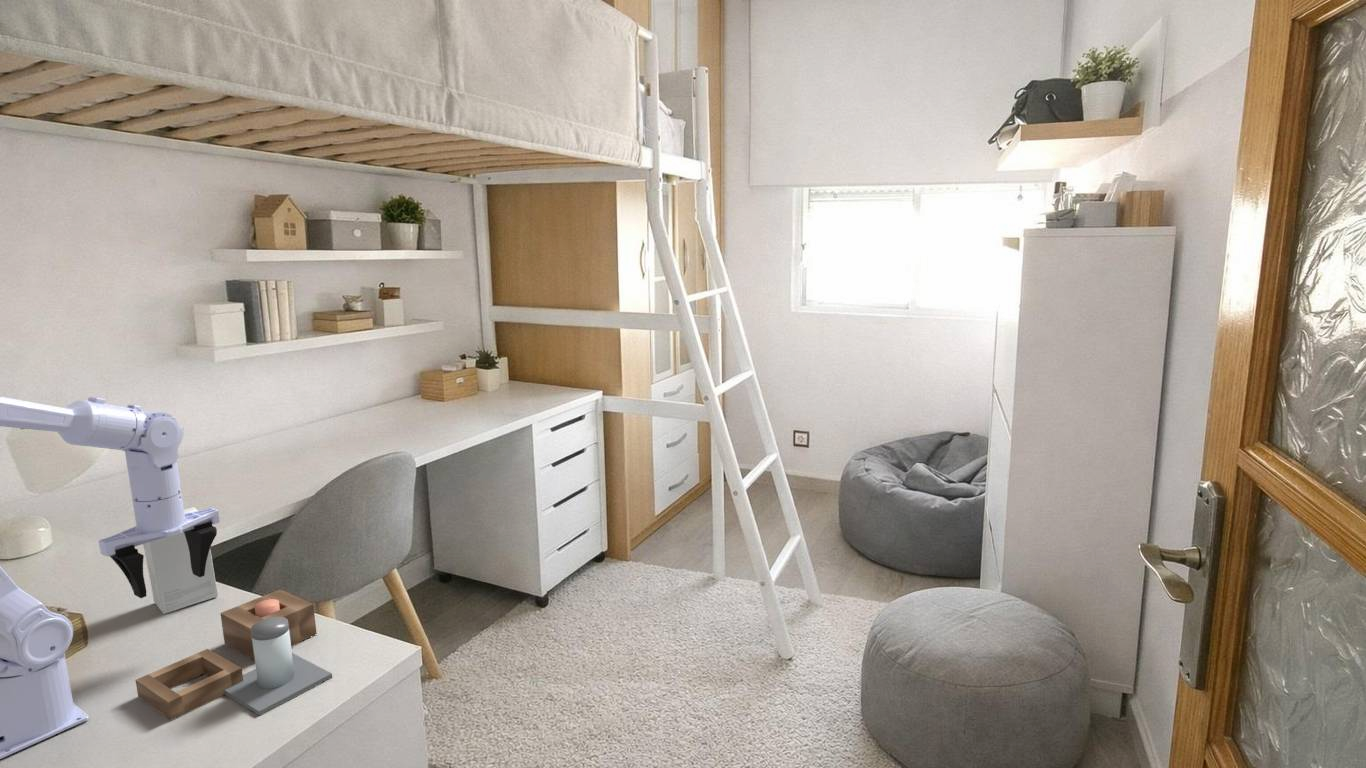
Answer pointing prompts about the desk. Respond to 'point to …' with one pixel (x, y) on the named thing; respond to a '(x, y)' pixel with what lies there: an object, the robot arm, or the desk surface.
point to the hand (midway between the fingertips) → (170, 585)
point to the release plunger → (266, 607)
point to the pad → (268, 699)
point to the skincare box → (177, 573)
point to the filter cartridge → (272, 652)
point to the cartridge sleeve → (178, 703)
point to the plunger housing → (244, 618)
